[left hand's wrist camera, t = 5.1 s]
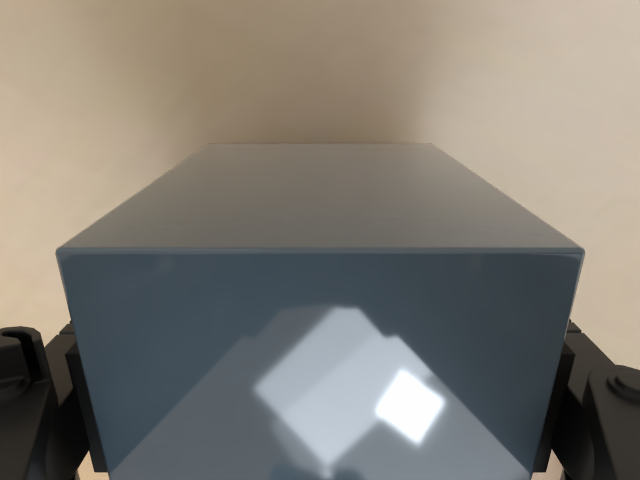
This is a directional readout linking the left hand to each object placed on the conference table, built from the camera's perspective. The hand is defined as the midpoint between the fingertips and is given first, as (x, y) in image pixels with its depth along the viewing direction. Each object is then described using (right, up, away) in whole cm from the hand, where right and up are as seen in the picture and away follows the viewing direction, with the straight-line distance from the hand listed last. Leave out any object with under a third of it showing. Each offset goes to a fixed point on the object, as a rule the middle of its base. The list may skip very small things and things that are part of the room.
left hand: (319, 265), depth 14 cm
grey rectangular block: (0, 0, +1) cm, 1 cm away
